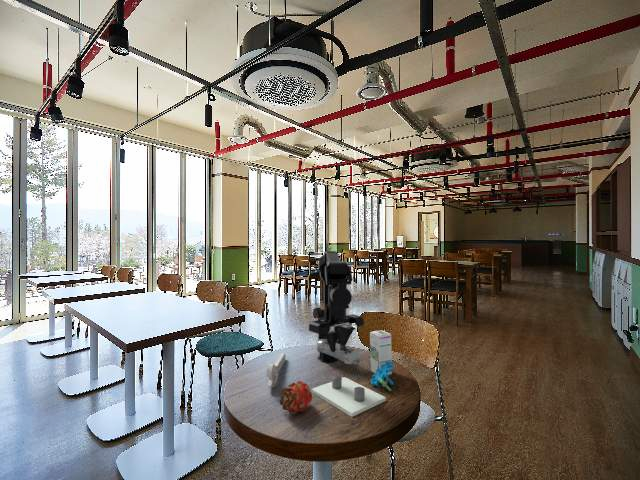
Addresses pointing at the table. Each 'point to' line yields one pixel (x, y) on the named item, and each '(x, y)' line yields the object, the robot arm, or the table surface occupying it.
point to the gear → (383, 375)
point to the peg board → (348, 395)
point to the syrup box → (379, 350)
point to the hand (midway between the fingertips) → (337, 350)
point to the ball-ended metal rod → (339, 352)
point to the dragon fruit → (296, 397)
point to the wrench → (274, 370)
